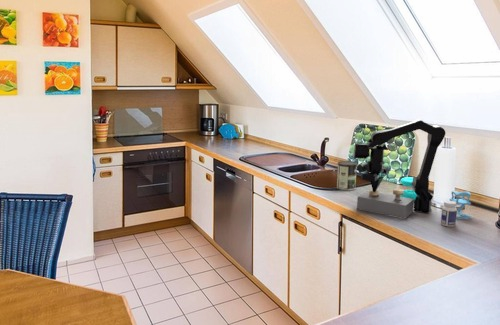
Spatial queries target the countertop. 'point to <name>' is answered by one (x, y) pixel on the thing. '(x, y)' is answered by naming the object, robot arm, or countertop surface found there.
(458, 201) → the chair
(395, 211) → the housing
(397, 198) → the near cap
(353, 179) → the coffee can
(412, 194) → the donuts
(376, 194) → the far cap
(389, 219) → the countertop surface
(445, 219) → the pill bottle
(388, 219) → the countertop surface
